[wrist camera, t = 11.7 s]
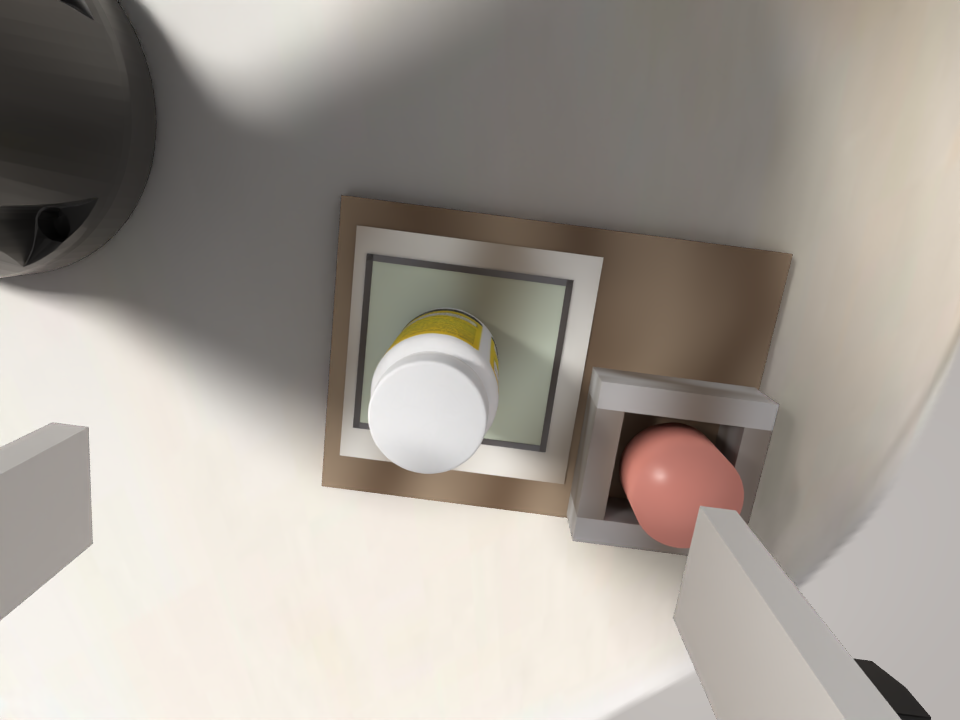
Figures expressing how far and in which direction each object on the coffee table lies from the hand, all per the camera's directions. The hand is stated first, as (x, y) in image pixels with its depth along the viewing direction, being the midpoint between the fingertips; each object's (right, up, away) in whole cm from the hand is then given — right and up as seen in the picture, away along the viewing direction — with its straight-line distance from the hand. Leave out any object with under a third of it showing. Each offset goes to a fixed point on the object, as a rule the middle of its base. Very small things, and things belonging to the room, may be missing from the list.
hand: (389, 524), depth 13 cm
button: (+10, -1, +14) cm, 18 cm away
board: (+5, +3, +16) cm, 17 cm away
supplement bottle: (0, +4, +15) cm, 16 cm away
